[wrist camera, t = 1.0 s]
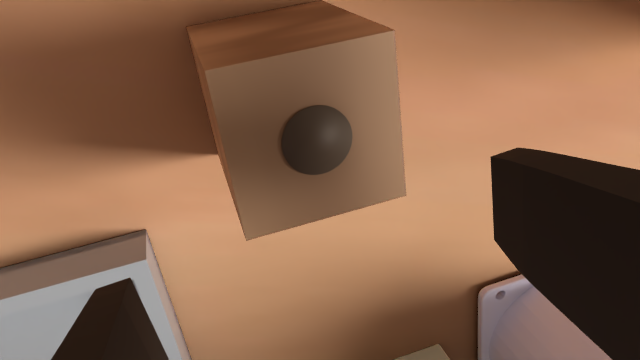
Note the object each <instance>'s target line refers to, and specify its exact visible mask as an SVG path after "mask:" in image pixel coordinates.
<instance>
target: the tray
mask: <svg viewBox="0 0 640 360" xmlns="http://www.w3.org/2000/svg"><path fill="white" fill-rule="evenodd" d="M127 278H131V280H132V282H133V284H134V286H135V288H136V290H137V293H138V295H139V297H140V299H141V301H142V303H143V305H144V307H145V310H146V312H147V314H148V316H149V318H150V320H151V322H152V324H153V326H154V329H155V331H156V333H157V335H158V337H159V339H160V341H161V343H162V346H163V348H164V350H165V352H166V354H167V356H168V358H169V360H192V359H191V356H190V354H189V351H188V348H187V345H186V342H185V339H184V336H183V334H182V331H181V328H180V325H179V322H178V319H177V316H176V314H175V311H174V308H173V305H172V302H171V299H170V296H169V294H168V291H167V288H166V285H165V282H164V279H163V276H162V273H161V271H160V268H159V265H158V262H157V259H156V256H155V253H154V251H153V248H152V245H151V242H150V239H149V236H148V233H147V231H146V230H142V231H138V232H135V233H131V234H127V235H123V236H120V237H116V238H112V239H108V240H105V241H101V242H97V243H93V244H90V245H86V246H82V247H78V248H75V249H71V250H67V251H63V252H60V253H56V254H52V255H49V256H45V257H41V258H37V259H34V260H30V261H26V262H22V263H19V264H15V265H11V266H7V267H4V268H0V360H51V359H52V357H53V355H54V354H55V352H56V351H57V349H58V348H59V346H60V345H61V343H62V341H63V340H64V338H65V337H66V335H67V333H68V332H69V330H70V329H71V327H72V325H73V324H74V322H75V321H76V319H77V317H78V316H79V314H80V312H81V311H82V309H83V308H84V306H85V304H86V303H87V301H88V300H89V298H90V296H91V295H92V294H93V292H94V291H95V289H97V288H100V287H103V286H106V285H109V284H112V283H115V282H118V281H121V280H124V279H127Z"/></svg>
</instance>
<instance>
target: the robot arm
mask: <svg viewBox="0 0 640 360" xmlns="http://www.w3.org/2000/svg"><path fill="white" fill-rule="evenodd" d="M491 175H492V198H493V222H494V240H495V241H496V243H497V244H498V245H499V246H500V248H501V249H502V250H503V252H504V253H505V254H506V256H507V257H508V258H509V259H510V261H511V262H512V263H513V264H514V265H515V267H516V268H517V269H518V270H519V271H520V273H521V275H518V276H515V277H512V278H509V279H506V280H503V281H500V282H497V283H494V284H491V285H488V286H486V287H484V288H483V289H482V290H481V291H480V292H479V295H478V360H640V170H636V169H631V168H626V167H621V166H616V165H611V164H606V163H601V162H597V161H592V160H587V159H582V158H577V157H572V156H567V155H562V154H557V153H552V152H546V151H540V150H534V149H526V148H515V149H512V150H509V151H506V152H503V153H500V154H497V155H494V156H491ZM498 292H499V293H498ZM497 293H498V294H497ZM51 360H169V358H168V356H167V354H166V352H165V350H164V348H163V346H162V343H161V341H160V339H159V337H158V335H157V333H156V331H155V329H154V326H153V324H152V322H151V320H150V318H149V316H148V314H147V312H146V310H145V307H144V305H143V303H142V301H141V299H140V297H139V295H138V293H137V290H136V288H135V286H134V284H133V282H132V280H131V278H127V279H124V280H121V281H118V282H115V283H112V284H109V285H106V286H103V287H100V288H97V289H95V291H94V292H93V294H92V295H91V296H90V298H89V300H88V301H87V303H86V304H85V306H84V308H83V309H82V311H81V312H80V314H79V316H78V317H77V319H76V321H75V322H74V324H73V325H72V327H71V329H70V330H69V332H68V333H67V335H66V337H65V338H64V340H63V341H62V343H61V345H60V346H59V348H58V349H57V351H56V352H55V354H54V355H53V357H52V359H51Z"/></svg>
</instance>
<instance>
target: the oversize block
mask: <svg viewBox="0 0 640 360" xmlns="http://www.w3.org/2000/svg"><path fill="white" fill-rule="evenodd" d="M394 360H450V359H449V357H448V356H447V354H446V353H445V352H444V350H443V349H442V347H441V346H440V344H437V345H434V346H431V347H428V348H425V349H422V350H419V351H417V352H414V353H411V354H408V355H405V356H402V357H399V358H396V359H394Z"/></svg>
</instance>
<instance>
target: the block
mask: <svg viewBox="0 0 640 360" xmlns="http://www.w3.org/2000/svg"><path fill="white" fill-rule="evenodd" d="M186 29H187V33H188V37H189V41H190V45H191V49H192V53H193V57H194V61H195V65H196V69H197V72H198V76H199V80H200V84H201V88H202V92H203V96H204V100H205V104H206V108H207V112H208V116H209V120H210V124H211V128H212V132H213V136H214V140H215V144H216V148H217V152H218V155H219V158H220V161H221V165H222V168H223V171H224V174H225V177H226V180H227V183H228V186H229V189H230V192H231V195H232V198H233V201H234V204H235V207H236V210H237V214H238V217H239V220H240V223H241V226H242V229H243V232H244V235H245V238H246V241H247V240H251V239H254V238H258V237H261V236H265V235H268V234H272V233H275V232H279V231H282V230H286V229H290V228H293V227H297V226H300V225H304V224H307V223H311V222H314V221H318V220H321V219H325V218H329V217H332V216H336V215H339V214H343V213H346V212H350V211H353V210H357V209H361V208H364V207H368V206H371V205H375V204H378V203H382V202H385V201H389V200H392V199H396V198H400V197H403V196H406V183H405V169H404V155H403V140H402V126H401V112H400V97H399V83H398V68H397V54H396V40H395V30H393V29H390V28H388V27H385V26H383V25H381V24H378V23H376V22H373V21H371V20H368V19H366V18H363V17H361V16H358V15H356V14H354V13H351V12H349V11H346V10H344V9H341V8H339V7H336V6H334V5H331V4H329V3H326V2H324V1H322V0H320V1H314V2H309V3H304V4H299V5H294V6H289V7H284V8H279V9H273V10H268V11H263V12H258V13H253V14H248V15H243V16H238V17H232V18H227V19H222V20H217V21H212V22H207V23H202V24H196V25H191V26H186Z"/></svg>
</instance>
